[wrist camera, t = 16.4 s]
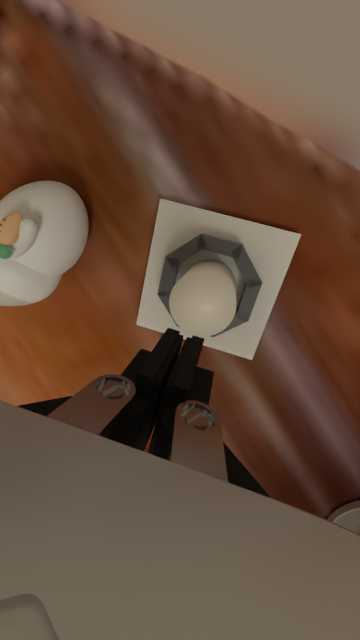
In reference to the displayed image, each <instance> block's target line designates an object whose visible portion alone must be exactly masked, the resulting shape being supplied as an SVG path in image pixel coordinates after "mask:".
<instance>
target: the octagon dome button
mask: <svg viewBox="0 0 360 640" xmlns="http://www.w3.org/2000/svg"><path fill="white" fill-rule="evenodd" d="M300 237H301V234H298V233H294V232H290V231H286V230H282V229H278V228H275V227H271V226H267V225H263V224H259V223H255V222H251V221H247V220H243V219H239V218H235V217H231V216H227V215H224V214H220V213H216V212H212V211H208V210H204V209H200V208H196V207H192V206H188V205H184V204H180V203H176V202H173V201H169V200H165V199H161V198H160V202H159V207H158V213H157V218H156V223H155V228H154V234H153V239H152V244H151V249H150V255H149V260H148V265H147V270H146V275H145V281H144V286H143V291H142V296H141V302H140V307H139V312H138V317H137V323H136V325H139V326H142V327H145V328H148V329H152V330H155V331H158V332H161V333H165V331H166V330H167V328H171V329H174V330H177V331H180V335H183V339H184V340H186V338H187V337H189V338H192V336H193V335H192V334H190V333H188V332H186V331H184V330H183V329H181V328H180V327H179V326H178V325H177V324H176V322H175V321H174V319H173V317H172V315H171V312H170V308H169V298H170V294H171V291H172V289H173V287H174V286H175V284H176V283H177V282H178V281H179V280H180V279H181V278H182V277H183V275H184V274H185V273H186V272H187V271H188V270H189V269H190V268H191V267H192V266H193V265H194V264H195V263H197V262H199V261H201V260H205V259H215V260H218V261H221V262H223V263H224V264H226V265H227V266H228V267H229V268H230V269H231V271H232V272H233V275H234V277H235V283H236V312H235V315H234V318H233V320H232V321H231V323H230V324H229V325H228V326H227V327H226V328H225V329H224V330H223V331H221V332H219V333H217V334H215V335H211V336H197V337H200V338H204V342H203V345H204V346H207V347H211V348H214V349H217V350H220V351H224V352H227V353H230V354H233V355H237V356H240V357H243V358H246V359H250V360H252V359H253V356H254V354H255V351H256V349H257V346H258V344H259V341H260V338H261V336H262V333H263V331H264V328H265V326H266V323H267V321H268V318H269V316H270V313H271V310H272V308H273V305H274V303H275V300H276V298H277V295H278V293H279V290H280V288H281V285H282V283H283V280H284V277H285V275H286V272H287V270H288V267H289V265H290V262H291V260H292V257H293V255H294V252H295V249H296V247H297V244H298V242H299V239H300ZM194 336H196V335H194Z"/></svg>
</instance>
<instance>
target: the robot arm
mask: <svg viewBox="0 0 360 640" xmlns="http://www.w3.org/2000/svg"><path fill="white" fill-rule="evenodd" d="M182 340H183V335H180V331H177V330H174V329H171V328H167V330H166V331H165V333H164V334H163V336H162V337H161V339H160V340H159V342H158V343H157V345H156V346H155V348H154V349H153V350H152V352H150V351H147V350H143V349H141V350H140V351H139V352H138V354H137V355H136V356H135V357H134V359H133V360H132V361H131V362H130V364H129V365H128V366H127V368H126V369H125V370H124V371H123V373H122V374H121V375H115V374H108V375H103V376H100V377H98V378H96V379H94V380H93V381H92V382H91V383H89V384H88V385H87V386H85V387H84V388H83V389H81V390H80V391H79V392H77V393H76V394H75V395H74V396H69V397H64V398H58V399H53V400H47V401H42V402H36V403H31V404H25V405H20V406H15V405H12V404H9V403H6V402H3V401H1V400H0V640H360V500H359V501H354V502H351V503H348V504H346V505H344V506H342V507H340V508H338V509H337V510H336V511H334V512H333V513H332V514H331V515H330V516H329V518H328V519H327V520H326V519H324V518H321V517H319V516H316V515H314V514H311V513H309V512H306V511H304V510H301V509H299V508H296V507H294V506H291V505H289V504H286V503H283V502H280V501H278V500H275V499H272V498H270V497H269V495H268V494H267V493H266V492H265V490H264V489H263V488H262V487H261V486H260V485H259V483H258V482H257V481H256V480H255V479H254V477H253V476H252V475H251V474H250V473H249V472H248V470H247V469H246V468H245V467H244V466H243V465H242V463H241V462H240V461H239V460H238V459H237V458H236V456H235V455H234V454H233V453H232V452H231V450H230V449H229V448H228V447H227V446H226V445H225V443H224V442H223V437H222V428H221V421H220V418H219V415H218V414H217V413H216V411H215V410H214V409H213V408H211V407H210V406H209V399H210V393H211V387H212V380H213V374H214V372H212V371H209V370H206V369H203V368H200V367H197V363H198V360H199V356H200V353H201V349H202V346H203V342H204V338H200V337H197V336H194V335H193V336H192V338H189V337H187V338H186V340H185V343H184V345H183V347H182V349H181V352H180V348H181V344H182ZM179 352H180V354H179ZM178 355H179V356H178ZM155 423H156V424H155ZM154 425H155V428H154ZM153 428H154V431H153V435H152V439H151V443H150V447H149V451H148V453H150V454H148V453H146V452H143V451H144V449H145V447H146V445H147V442H148V440H149V437H150V435H151V433H152V430H153ZM140 450H142V451H140ZM151 454H152V455H151Z"/></svg>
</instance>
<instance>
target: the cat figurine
mask: <svg viewBox="0 0 360 640" xmlns="http://www.w3.org/2000/svg"><path fill="white" fill-rule="evenodd" d="M88 231H89V223H88V215H87V211H86V208H85V205H84V203H83V201H82V199H81V198H80V196H79V195H78V194H77V193H76V192H75V191H74V190H73V189H72V188H71V187H69V186H67V185H65V184H63V183H60V182H55V181H38V182H33V183H29V184H26V185H23V186H21V187H19V188H17V189H15V190H13V191H12V192H10V193H9V194H8V195H6V196H5V197H4V198H3V199H2V200H1V201H0V306H2V305H3V306H22V305H28V304H32V303H36V302H38V301H41V300H43V299H45V298H46V297H48V296H49V295H50V294H51V293H52V292H53V291H54V290H55V289H56V287H57V286H58V284H59V282H60V280H61V277H62V275H63V273H65V272H66V271H68V270H69V269H70V268H71V267H72V266H73V265H74V264H75V263H76V262H77V261H78V259H79V258H80V256H81V255H82V253H83V251H84V248H85V246H86V242H87V238H88Z"/></svg>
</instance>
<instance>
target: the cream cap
mask: <svg viewBox="0 0 360 640" xmlns="http://www.w3.org/2000/svg"><path fill="white" fill-rule="evenodd" d="M169 308H170V312H171V315H172V317H173V319H174V321H175V322H176V324H177V325H178V326H179V327H180V328H181V329H183V330H184V331H186V332H188V333H190V334H192V335H196V336H211V335H215V334H217V333H219V332H221V331H223V330H224V329H225V328H226V327H227V326H228V325H229V324H230V323H231V321H232V320H233V318H234V315H235V312H236V283H235V277H234V275H233V272H232V271H231V269H230V268H229V267H228V266H227V265H226V264H224V263H223V262H221V261H218V260H215V259H205V260H201V261H199V262H197V263H195V264H194V265H193V266H192V267H191V268H190V269H189V270H188V271H187V272H186V273H185V274H184V275H183V277H182V278H181V279H180V280H179V281H178V282H177V283H176V284H175V286H174V287H173V289H172V291H171V294H170V298H169Z"/></svg>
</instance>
